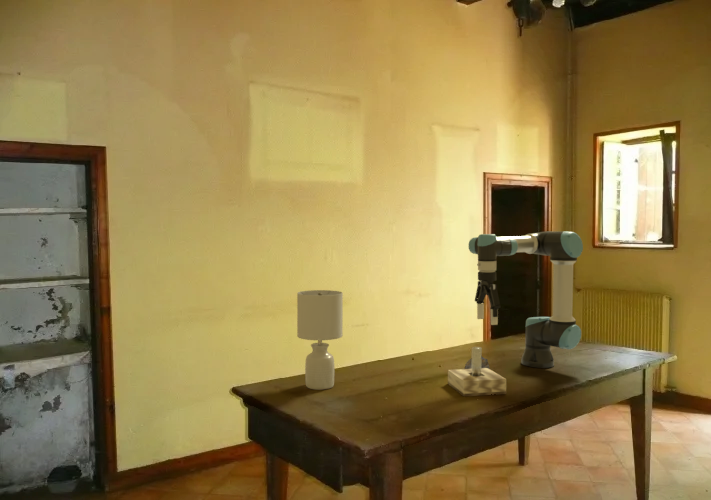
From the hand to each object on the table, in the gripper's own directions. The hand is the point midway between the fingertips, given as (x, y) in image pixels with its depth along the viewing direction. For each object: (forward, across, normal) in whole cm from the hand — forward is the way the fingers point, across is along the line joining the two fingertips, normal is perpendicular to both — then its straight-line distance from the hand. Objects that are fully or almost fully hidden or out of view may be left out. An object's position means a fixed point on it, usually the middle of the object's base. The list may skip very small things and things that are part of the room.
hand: (487, 321), depth 240 cm
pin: (+26, +4, -6) cm, 27 cm away
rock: (+28, -17, +2) cm, 33 cm away
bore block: (+27, +4, -7) cm, 28 cm away
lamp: (+26, -12, -70) cm, 75 cm away
